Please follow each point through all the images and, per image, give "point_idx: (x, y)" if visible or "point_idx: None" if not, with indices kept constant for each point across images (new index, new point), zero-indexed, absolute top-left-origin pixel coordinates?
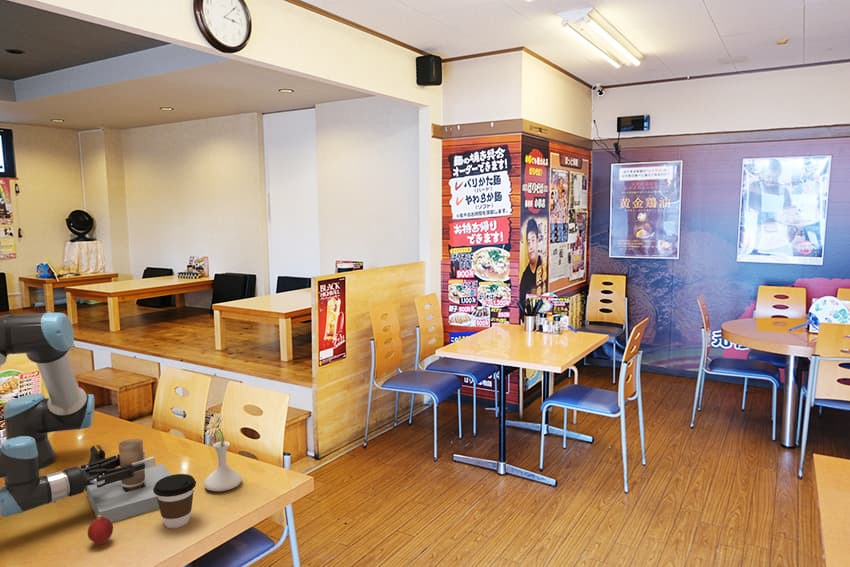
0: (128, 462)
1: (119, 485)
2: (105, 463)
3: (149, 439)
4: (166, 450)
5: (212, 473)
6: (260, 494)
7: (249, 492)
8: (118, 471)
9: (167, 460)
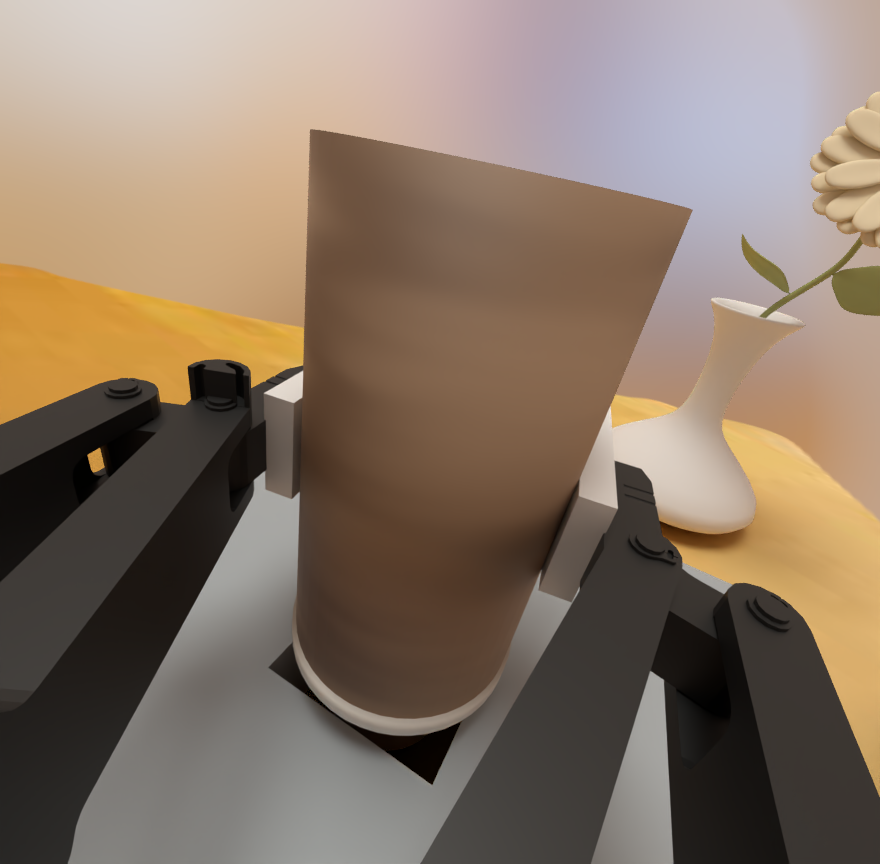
0: (550, 490)
1: (247, 677)
2: (76, 574)
3: (69, 303)
4: (197, 344)
5: (670, 451)
6: (824, 513)
7: (781, 510)
8: (807, 846)
9: (254, 385)
